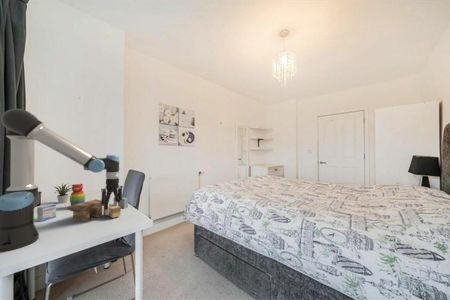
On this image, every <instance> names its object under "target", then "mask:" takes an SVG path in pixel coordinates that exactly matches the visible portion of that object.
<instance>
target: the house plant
mask: <svg viewBox="0 0 450 300" xmlns="http://www.w3.org/2000/svg"><path fill="white" fill-rule="evenodd" d="M67 185H68V183H67V184H66V183H65V184H64V182H63V183H62V184H61V186H60V185H58V184H57V185H56V186H54V188H55V189H56V190H55V191H54V194H58V195H57V196H56V198H57V202H58V204H66V203H67V202H68V200H69V198H68V197H69V193H68V192H70V190H72V187H71V184H70V185H68V186H67ZM57 186H58V187H57Z"/></svg>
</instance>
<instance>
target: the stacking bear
mask: <svg viewBox="0 0 450 300" xmlns="http://www.w3.org/2000/svg"><path fill="white" fill-rule="evenodd" d="M71 188H72V189H71V194H70V196H69V202H70V205H69V206H71V205H75V204H79V203H83V202H86V194H85V192H84V191H83V189H84V186H83V183H80V184H79V183H77V184H71ZM69 206H67V210H68V211H70V210H69Z"/></svg>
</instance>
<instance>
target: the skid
mask: <svg viewBox="0 0 450 300" xmlns="http://www.w3.org/2000/svg"><path fill="white" fill-rule="evenodd" d="M108 204H109V203H108ZM121 209H122V208H121V207H119V206H116V205H114V203H110V204H109V215H107V214H105V209H104V208H103V209H102V215H105V216H107V217H110V218H112V219H113V218H116V217H120V216H121Z"/></svg>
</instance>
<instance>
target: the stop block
mask: <svg viewBox="0 0 450 300" xmlns="http://www.w3.org/2000/svg"><path fill="white" fill-rule="evenodd" d="M115 202H116V200H115V196H113V205H115ZM128 202H129V201H128V197H123V196H122V200H120V202H119V207H121V209H126V208H129V203H128Z"/></svg>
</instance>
